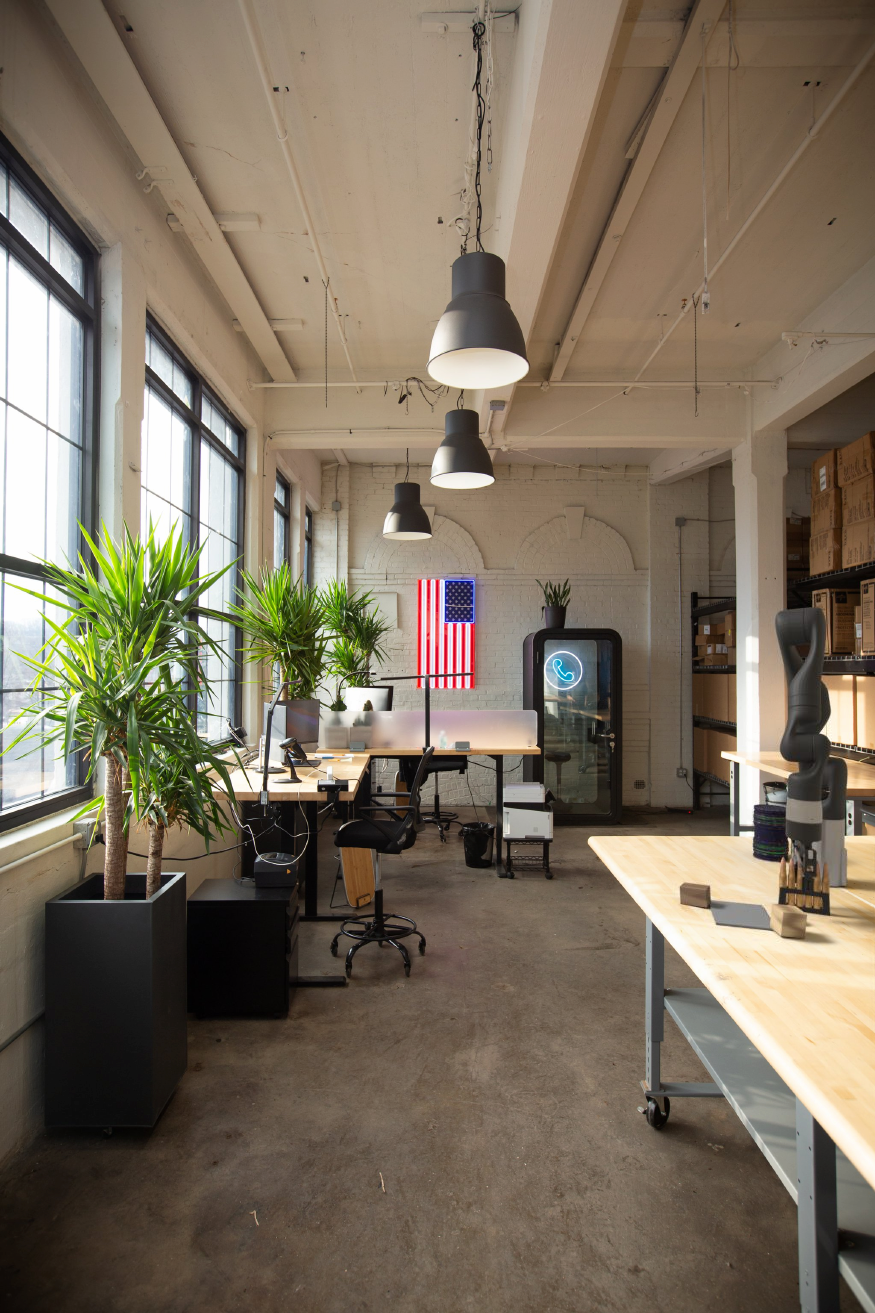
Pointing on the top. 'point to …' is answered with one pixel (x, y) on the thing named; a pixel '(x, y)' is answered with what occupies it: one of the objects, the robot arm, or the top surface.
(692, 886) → the walnut block
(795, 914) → the oak block
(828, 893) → the ammunition clip
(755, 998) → the top surface
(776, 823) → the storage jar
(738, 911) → the pad
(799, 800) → the robot arm
